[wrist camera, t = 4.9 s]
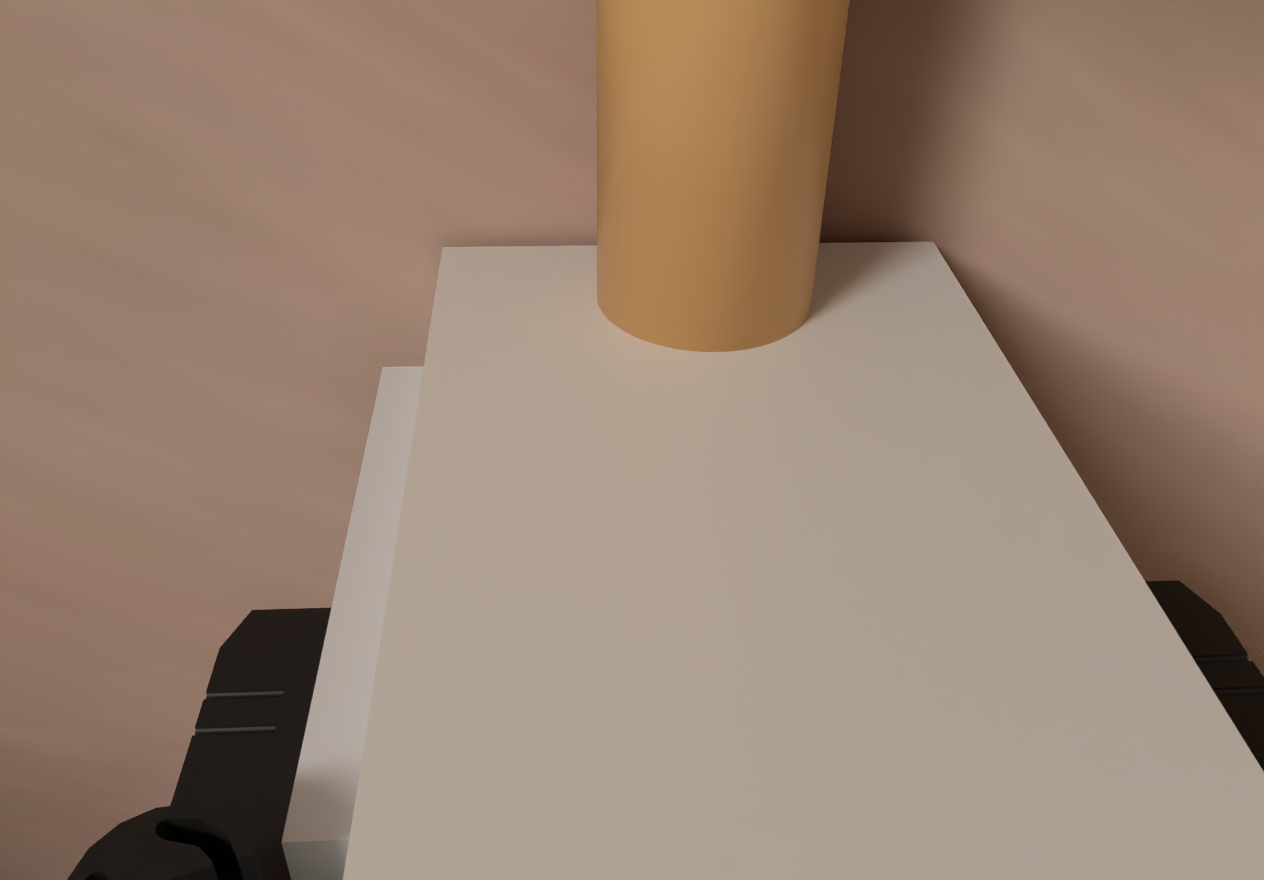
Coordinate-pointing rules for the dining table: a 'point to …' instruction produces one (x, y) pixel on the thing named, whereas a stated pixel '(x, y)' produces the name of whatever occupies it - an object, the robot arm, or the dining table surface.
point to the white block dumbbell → (761, 543)
